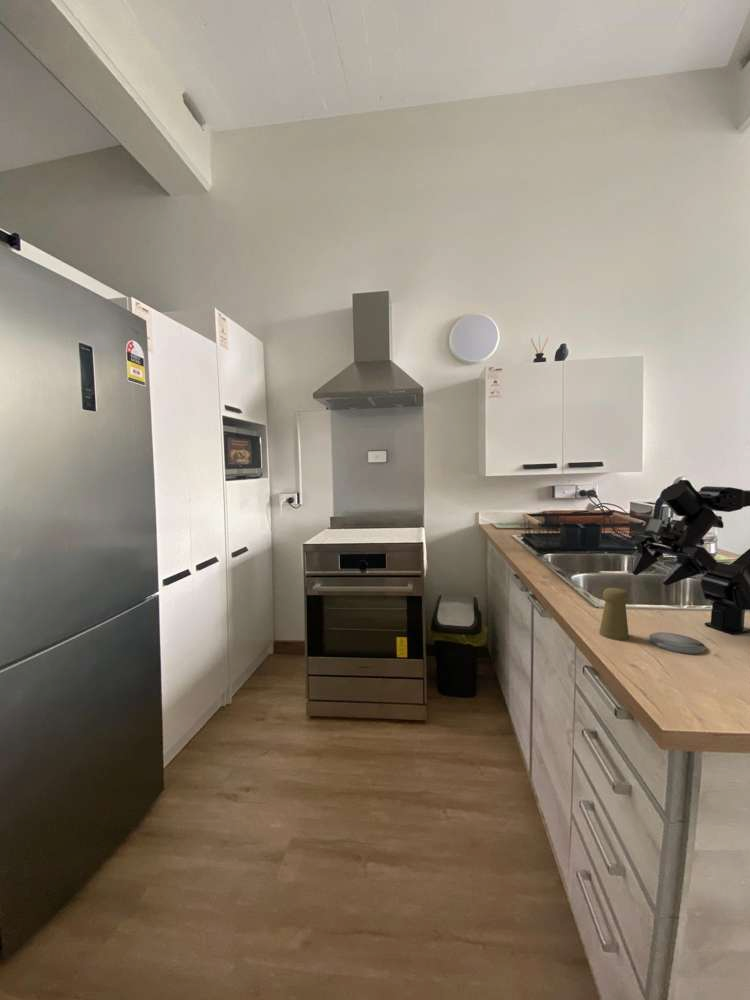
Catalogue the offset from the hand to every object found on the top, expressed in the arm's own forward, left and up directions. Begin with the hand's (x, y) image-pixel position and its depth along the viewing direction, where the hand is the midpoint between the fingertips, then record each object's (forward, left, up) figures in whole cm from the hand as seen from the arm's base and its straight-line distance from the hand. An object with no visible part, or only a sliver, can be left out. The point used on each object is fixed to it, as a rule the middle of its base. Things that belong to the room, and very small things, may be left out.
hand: (648, 579), depth 99 cm
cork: (+8, -1, -13) cm, 15 cm away
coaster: (-1, +7, -13) cm, 15 cm away
